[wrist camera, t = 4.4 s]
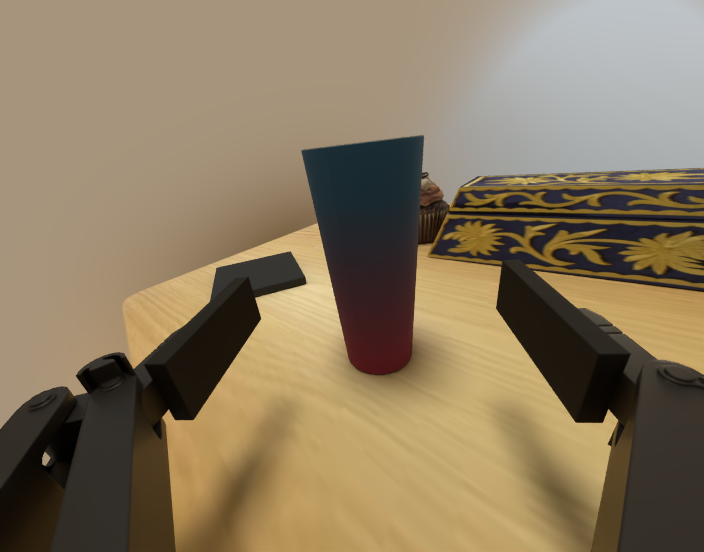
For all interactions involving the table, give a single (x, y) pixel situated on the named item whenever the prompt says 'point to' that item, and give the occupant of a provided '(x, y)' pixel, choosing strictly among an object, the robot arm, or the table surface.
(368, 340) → the cup
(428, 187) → the cupcake
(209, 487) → the table surface
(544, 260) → the decorative box
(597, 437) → the table surface
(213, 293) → the mat
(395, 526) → the table surface
